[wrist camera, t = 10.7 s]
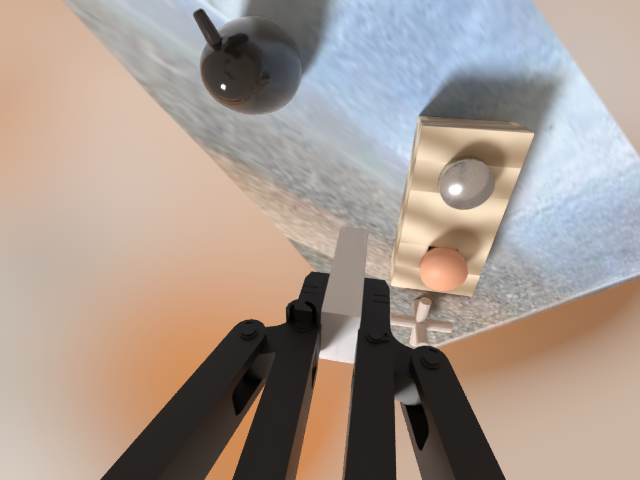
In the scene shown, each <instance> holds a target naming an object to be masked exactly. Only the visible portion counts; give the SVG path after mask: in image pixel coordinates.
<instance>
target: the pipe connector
mask: <svg viewBox="0 0 640 480" xmlns="http://www.w3.org/2000/svg"><path fill="white" fill-rule="evenodd" d="M412 306H413V316H414V317H411V316H404V315H396V314H390V324H392V325H399V326H406V327H413V329H412V333H411V337H410V341H409V343H410V344H411V345H412V346H414V347H419V346H423V345H426V346H429V344H428V337H427V330H433V331H440V332H447V333H451V332H452V323H451V322H446V321H439V320H432V319H427V317H428V313H429V309H430V306H431V300H430V299H429V298H426V297H422V298H420V299H415V300H413V301H412Z"/></svg>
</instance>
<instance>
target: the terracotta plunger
mask: <svg viewBox="0 0 640 480" xmlns="http://www.w3.org/2000/svg"><path fill="white" fill-rule="evenodd" d="M419 268H420V274H421V279H422V281H423V283H424V284H425V285H426V286H427V287H429V288H431V289H433V290H437V291H449V290H453V289H455V288H457V287H459V286H460V285H462V284H463V283H464V282H465V280H466V279H467V276H468V268H467V265H466V262H465V260H464V257H463V256H462V254H461V253H460V252H459V251H457V250H455V249H453V248H449V247H434V246H429V247H428V251H427V253H425V254H424V255H423V257H422V258H421V260H420V263H419Z"/></svg>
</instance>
